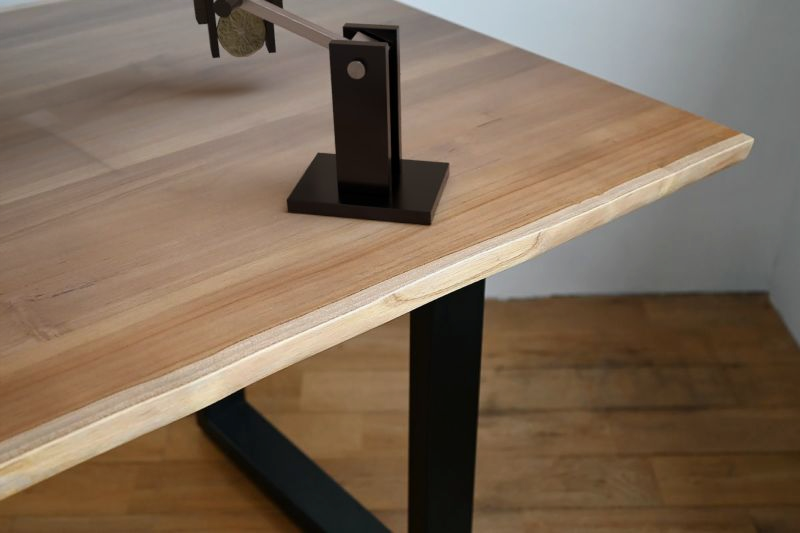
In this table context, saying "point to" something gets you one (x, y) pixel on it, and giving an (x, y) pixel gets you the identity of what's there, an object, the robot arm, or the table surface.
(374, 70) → the bracket
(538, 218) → the table surface
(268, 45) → the robot arm
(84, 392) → the table surface
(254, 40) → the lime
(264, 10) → the lever
